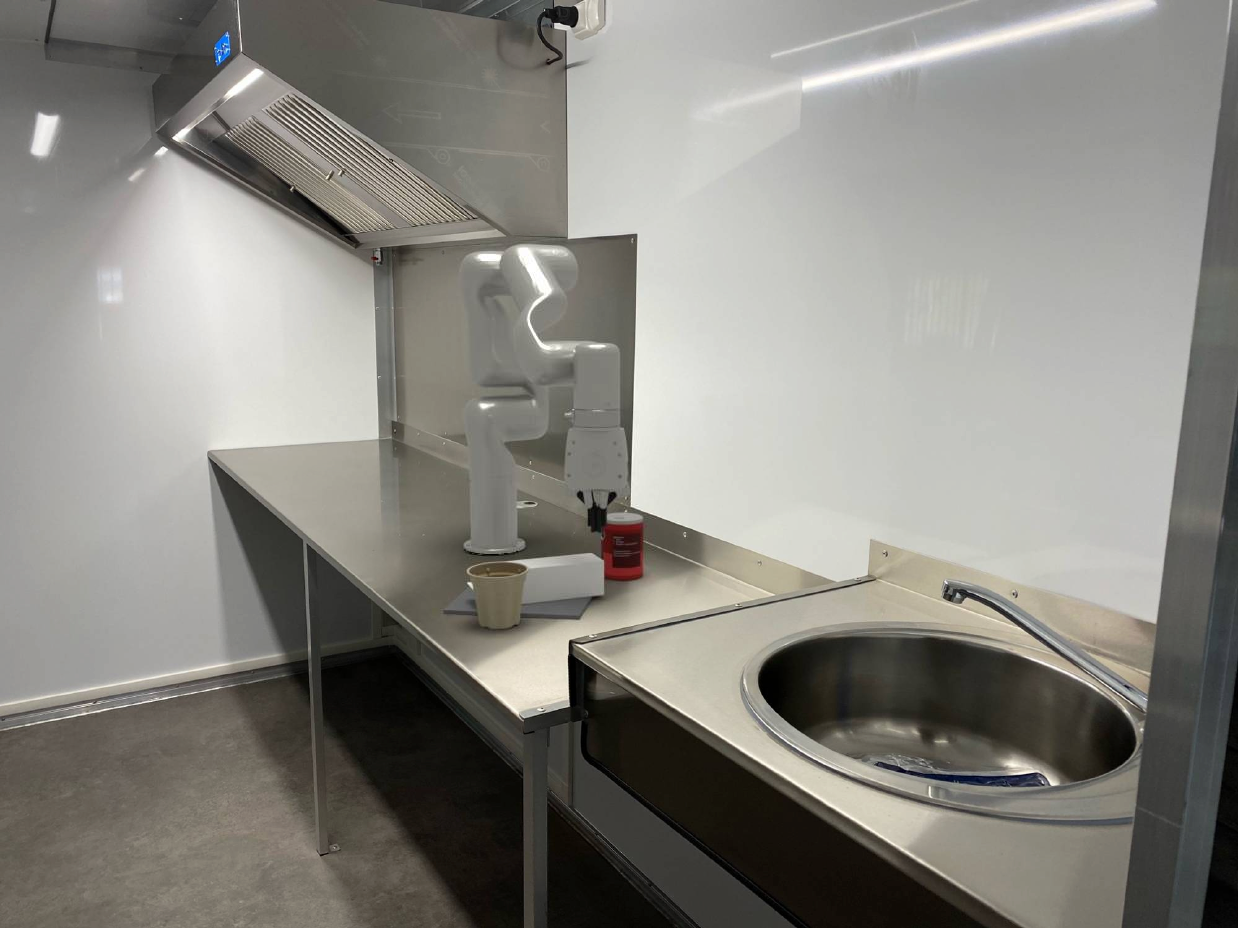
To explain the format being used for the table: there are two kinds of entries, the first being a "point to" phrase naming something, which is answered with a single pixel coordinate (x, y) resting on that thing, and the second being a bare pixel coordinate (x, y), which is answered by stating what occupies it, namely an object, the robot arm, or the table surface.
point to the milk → (562, 578)
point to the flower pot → (498, 592)
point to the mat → (525, 607)
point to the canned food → (622, 546)
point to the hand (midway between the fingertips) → (597, 530)
